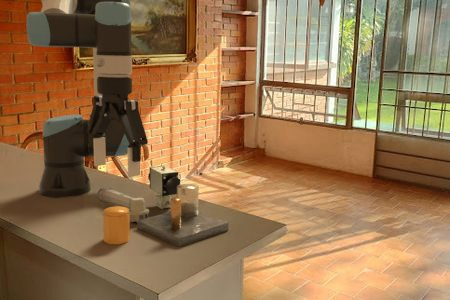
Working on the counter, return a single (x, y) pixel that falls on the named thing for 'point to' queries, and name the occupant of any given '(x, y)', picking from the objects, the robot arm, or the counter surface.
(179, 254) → the counter surface
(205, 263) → the counter surface
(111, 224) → the orange acorn nut
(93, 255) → the counter surface
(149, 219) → the grey slab with post
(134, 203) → the white handheld device
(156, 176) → the pneumatic valve
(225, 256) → the counter surface
